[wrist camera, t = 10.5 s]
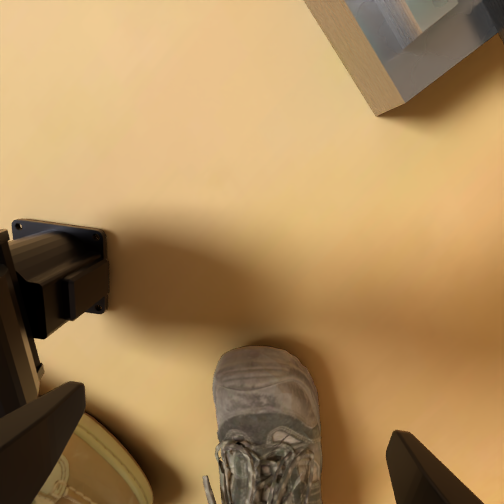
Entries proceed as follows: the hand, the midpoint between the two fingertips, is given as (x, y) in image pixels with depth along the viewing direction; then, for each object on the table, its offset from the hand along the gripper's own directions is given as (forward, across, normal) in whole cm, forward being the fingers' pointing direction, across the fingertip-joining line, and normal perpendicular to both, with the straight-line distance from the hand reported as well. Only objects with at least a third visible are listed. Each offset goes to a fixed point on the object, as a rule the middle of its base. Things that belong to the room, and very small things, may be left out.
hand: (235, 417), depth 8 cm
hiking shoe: (+13, -3, +15) cm, 21 cm away
